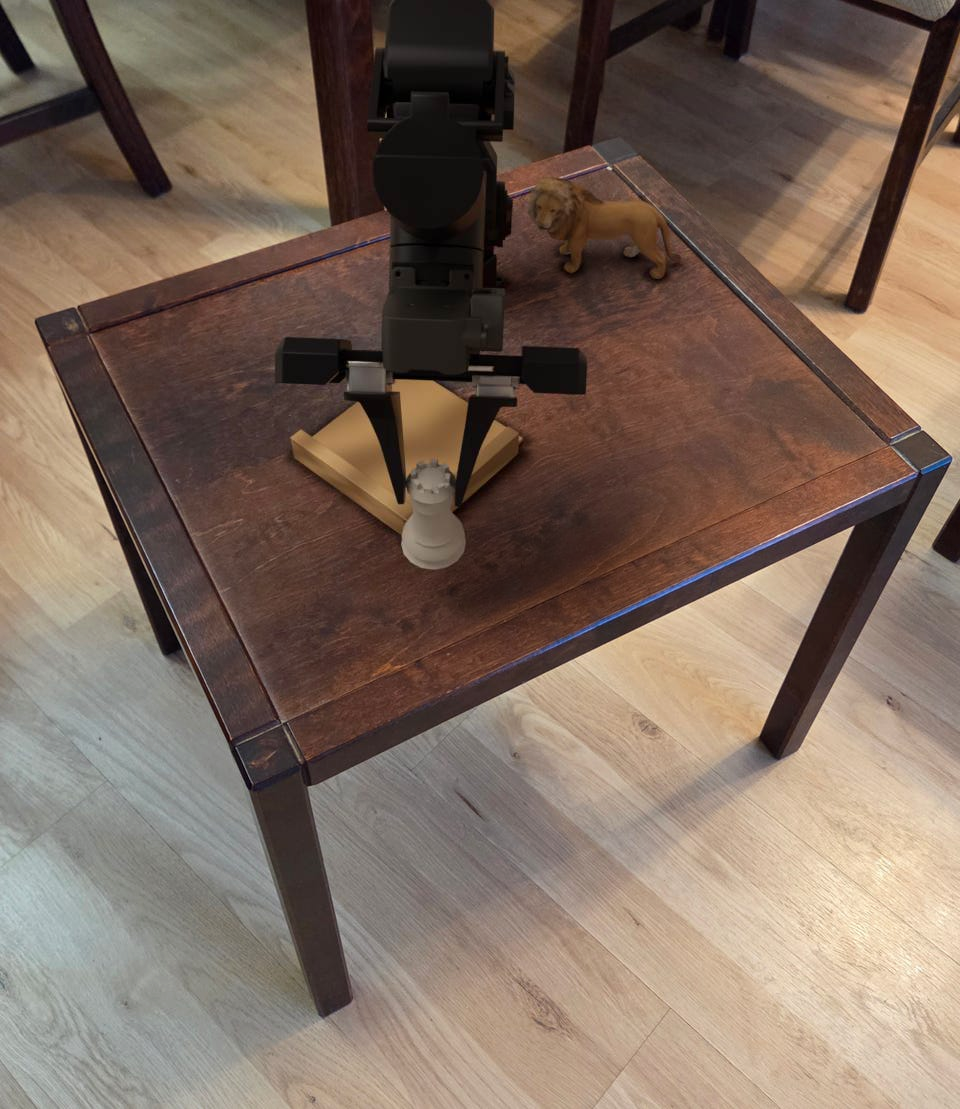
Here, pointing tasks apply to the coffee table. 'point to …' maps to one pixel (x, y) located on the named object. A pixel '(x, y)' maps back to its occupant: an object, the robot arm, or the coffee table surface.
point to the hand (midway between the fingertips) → (429, 504)
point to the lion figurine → (597, 222)
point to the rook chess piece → (432, 518)
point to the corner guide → (428, 433)
